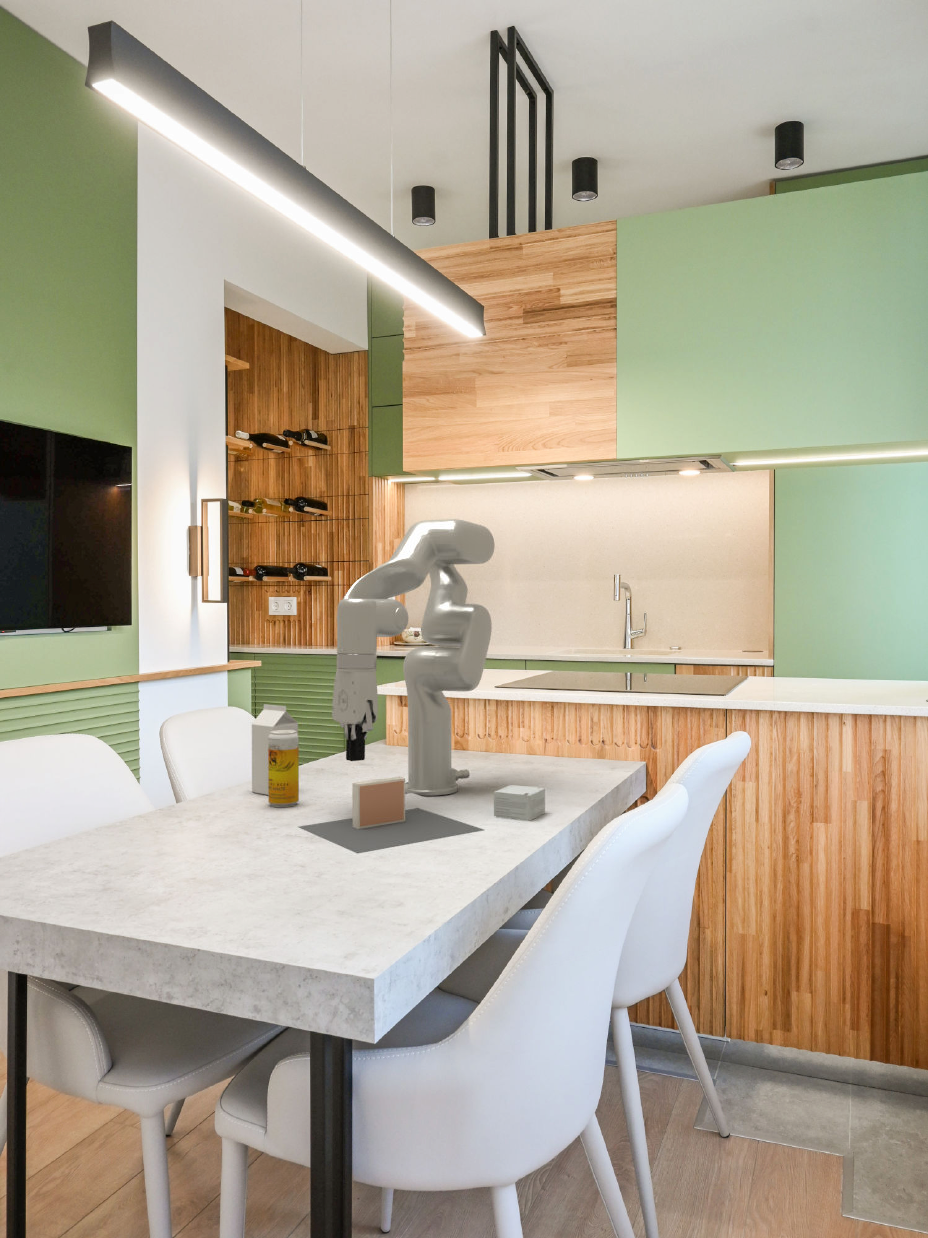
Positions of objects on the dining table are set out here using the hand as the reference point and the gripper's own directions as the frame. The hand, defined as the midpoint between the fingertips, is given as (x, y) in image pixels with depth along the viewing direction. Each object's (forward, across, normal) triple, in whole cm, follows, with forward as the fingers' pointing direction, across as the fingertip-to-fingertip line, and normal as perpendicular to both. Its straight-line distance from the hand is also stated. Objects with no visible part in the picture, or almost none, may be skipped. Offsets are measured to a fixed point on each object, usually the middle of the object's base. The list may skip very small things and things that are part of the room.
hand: (355, 760), depth 173 cm
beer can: (+12, -20, -5) cm, 24 cm away
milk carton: (+11, -34, -1) cm, 35 cm away
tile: (+11, +8, +1) cm, 13 cm away
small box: (+11, +15, +28) cm, 34 cm away
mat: (+12, +12, +1) cm, 16 cm away
